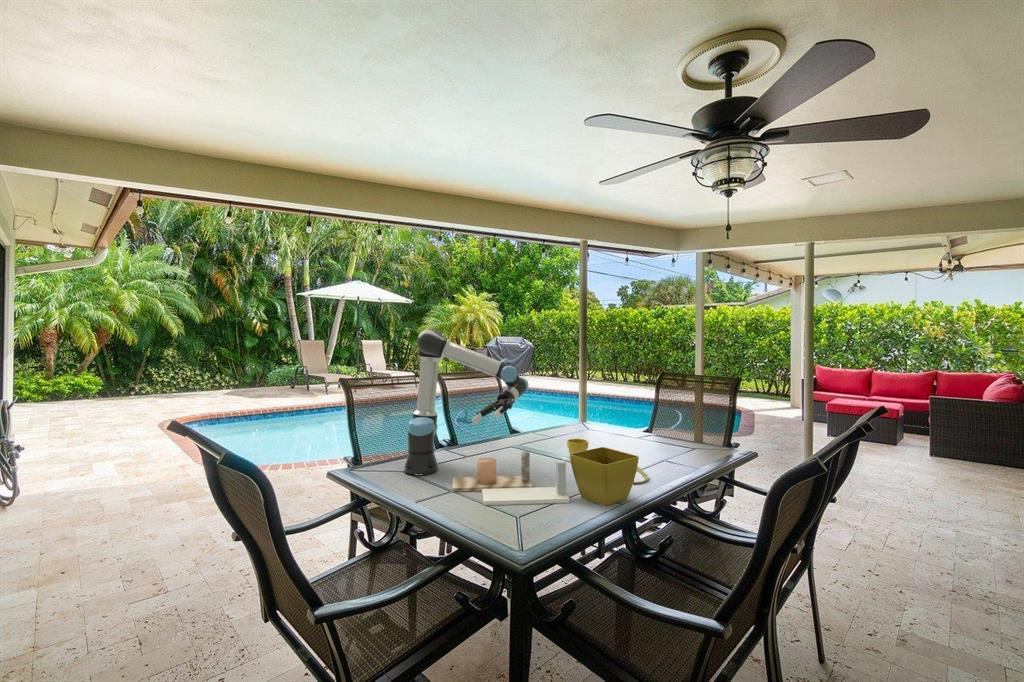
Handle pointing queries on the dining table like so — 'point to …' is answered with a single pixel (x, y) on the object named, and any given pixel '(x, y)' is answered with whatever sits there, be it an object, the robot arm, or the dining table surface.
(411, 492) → the dining table surface
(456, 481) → the oak runner
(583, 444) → the plant pot
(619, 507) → the dining table surface
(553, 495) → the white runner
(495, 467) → the tan rounded cylinder
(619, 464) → the flower pot
